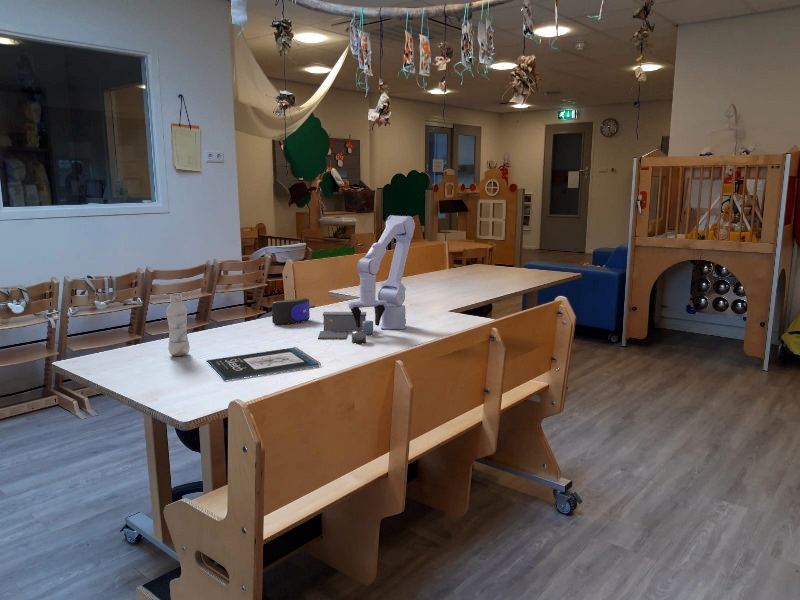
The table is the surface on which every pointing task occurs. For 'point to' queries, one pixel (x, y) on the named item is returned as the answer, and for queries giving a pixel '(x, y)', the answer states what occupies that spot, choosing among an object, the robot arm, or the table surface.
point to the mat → (332, 335)
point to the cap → (358, 336)
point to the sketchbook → (262, 363)
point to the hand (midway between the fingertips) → (367, 326)
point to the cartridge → (368, 327)
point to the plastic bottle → (177, 326)
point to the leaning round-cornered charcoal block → (290, 311)
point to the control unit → (342, 321)
